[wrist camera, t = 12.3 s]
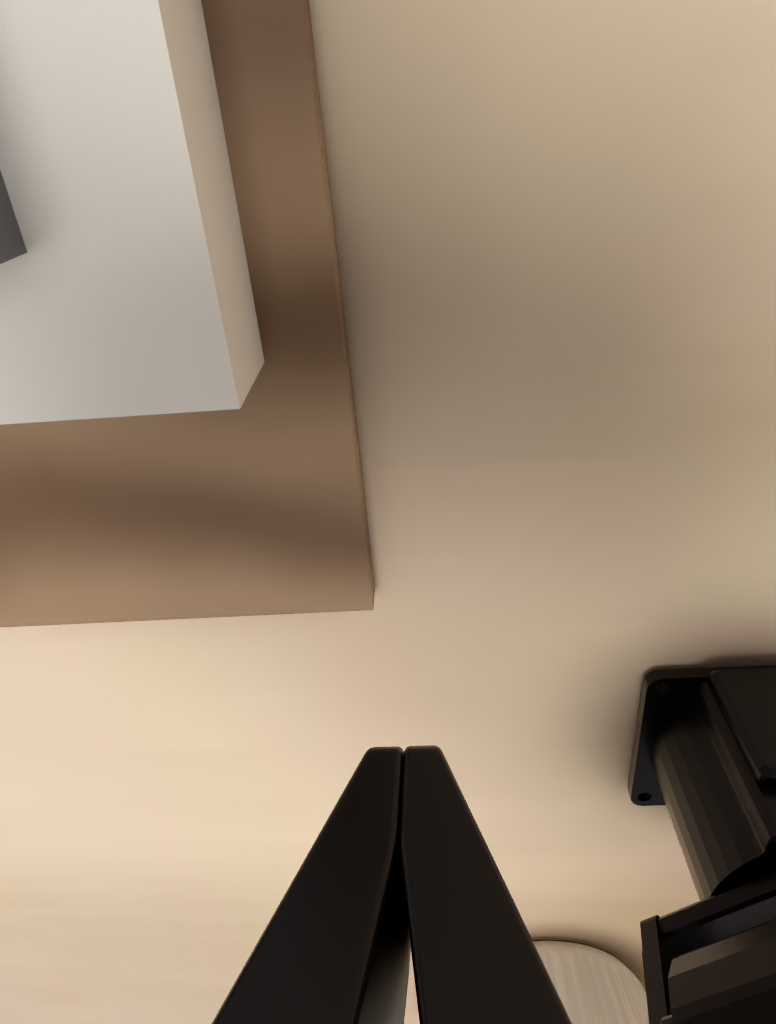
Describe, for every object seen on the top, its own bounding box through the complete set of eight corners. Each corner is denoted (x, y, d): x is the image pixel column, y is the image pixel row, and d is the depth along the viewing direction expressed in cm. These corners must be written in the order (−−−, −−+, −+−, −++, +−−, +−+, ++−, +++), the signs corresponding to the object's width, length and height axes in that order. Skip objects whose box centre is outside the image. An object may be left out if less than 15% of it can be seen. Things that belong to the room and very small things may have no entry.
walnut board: (374, 590, 23) (373, 609, 22) (-105, 613, 24) (-124, 632, 23) (271, -330, 12) (261, -362, 11) (-567, -219, 13) (-634, -240, 12)
